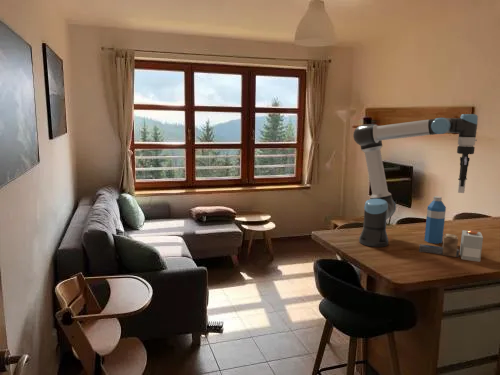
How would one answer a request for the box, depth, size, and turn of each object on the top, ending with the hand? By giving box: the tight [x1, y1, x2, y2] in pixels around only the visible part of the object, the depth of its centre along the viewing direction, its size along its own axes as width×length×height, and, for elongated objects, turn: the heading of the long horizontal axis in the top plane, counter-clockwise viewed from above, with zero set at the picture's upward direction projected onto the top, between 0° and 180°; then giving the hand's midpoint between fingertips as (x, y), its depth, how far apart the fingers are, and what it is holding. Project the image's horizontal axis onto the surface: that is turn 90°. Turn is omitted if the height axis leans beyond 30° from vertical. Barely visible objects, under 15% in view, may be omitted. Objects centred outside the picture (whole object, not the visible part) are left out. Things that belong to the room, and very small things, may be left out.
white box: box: [459, 229, 484, 262], centre depth 196 cm, size 8×10×12 cm
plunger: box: [466, 229, 479, 236], centre depth 195 cm, size 4×4×6 cm
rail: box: [418, 243, 460, 258], centre depth 202 cm, size 18×5×3 cm, turn 67°
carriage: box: [442, 233, 459, 258], centre depth 200 cm, size 6×7×10 cm
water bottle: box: [424, 195, 447, 245], centre depth 220 cm, size 9×9×25 cm
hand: (461, 192), depth 202 cm, fingers closed
